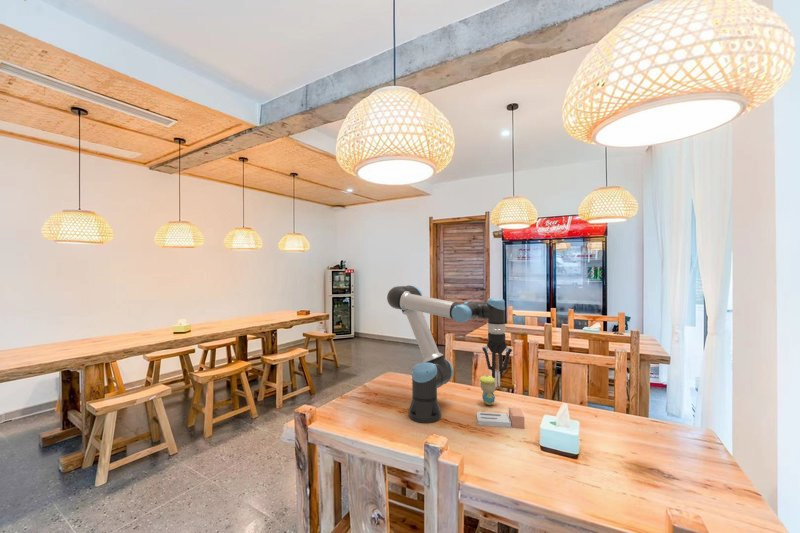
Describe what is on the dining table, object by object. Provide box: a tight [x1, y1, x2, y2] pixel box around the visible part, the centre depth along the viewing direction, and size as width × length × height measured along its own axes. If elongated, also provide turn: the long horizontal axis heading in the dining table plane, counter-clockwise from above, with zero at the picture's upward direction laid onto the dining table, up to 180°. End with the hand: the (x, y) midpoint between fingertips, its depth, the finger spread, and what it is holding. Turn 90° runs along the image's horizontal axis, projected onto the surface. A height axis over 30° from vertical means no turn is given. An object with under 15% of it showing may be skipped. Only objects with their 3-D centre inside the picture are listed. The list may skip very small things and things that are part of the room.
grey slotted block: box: [476, 411, 512, 428], centre depth 143 cm, size 14×9×2 cm, turn 80°
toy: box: [478, 374, 498, 406], centre depth 162 cm, size 8×9×15 cm
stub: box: [508, 406, 525, 429], centre depth 142 cm, size 5×9×5 cm, turn 170°
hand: (497, 385), depth 144 cm, fingers closed
